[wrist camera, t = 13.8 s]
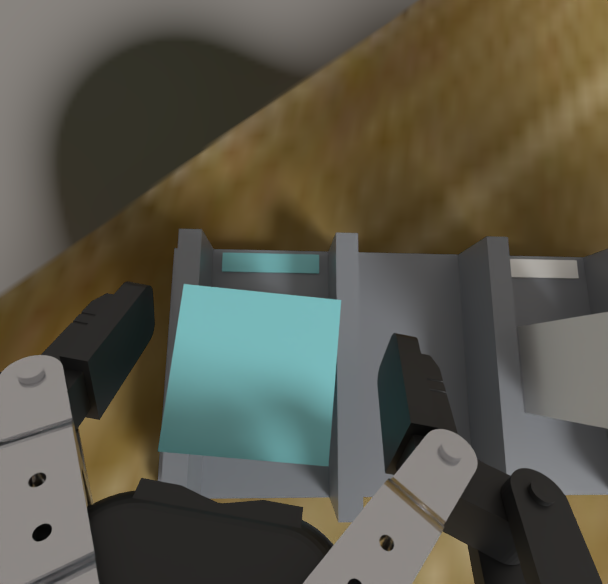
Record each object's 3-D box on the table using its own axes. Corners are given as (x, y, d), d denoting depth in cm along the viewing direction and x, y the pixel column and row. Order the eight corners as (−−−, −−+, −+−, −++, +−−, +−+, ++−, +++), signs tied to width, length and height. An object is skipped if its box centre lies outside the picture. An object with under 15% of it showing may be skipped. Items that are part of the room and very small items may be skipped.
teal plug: (312, 332, 20) (341, 300, 10) (304, 414, 19) (328, 466, 9) (233, 324, 20) (183, 284, 10) (222, 407, 19) (157, 451, 9)
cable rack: (601, 263, 23) (671, 241, 19) (631, 486, 20) (720, 517, 16) (180, 254, 21) (156, 228, 17) (164, 490, 19) (132, 525, 15)
